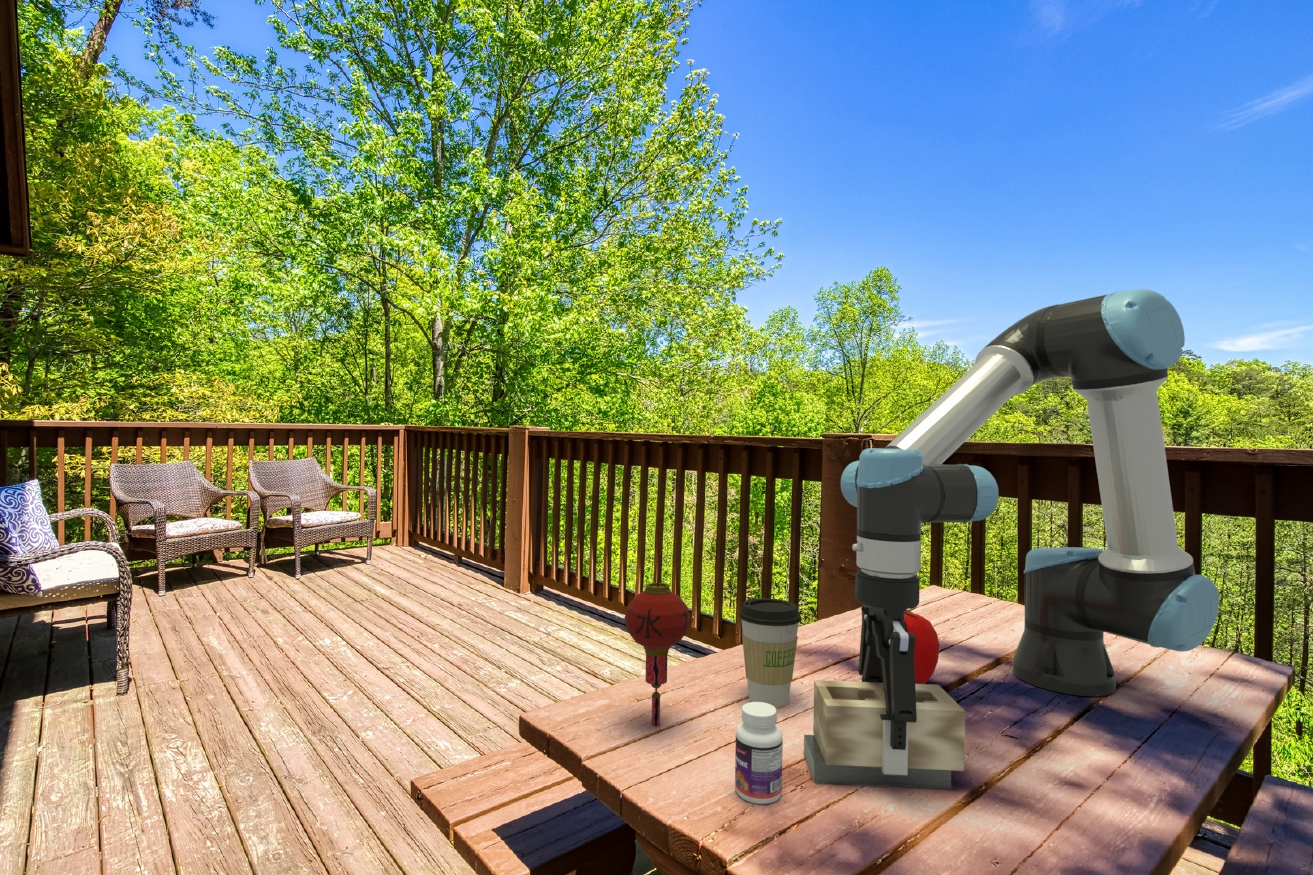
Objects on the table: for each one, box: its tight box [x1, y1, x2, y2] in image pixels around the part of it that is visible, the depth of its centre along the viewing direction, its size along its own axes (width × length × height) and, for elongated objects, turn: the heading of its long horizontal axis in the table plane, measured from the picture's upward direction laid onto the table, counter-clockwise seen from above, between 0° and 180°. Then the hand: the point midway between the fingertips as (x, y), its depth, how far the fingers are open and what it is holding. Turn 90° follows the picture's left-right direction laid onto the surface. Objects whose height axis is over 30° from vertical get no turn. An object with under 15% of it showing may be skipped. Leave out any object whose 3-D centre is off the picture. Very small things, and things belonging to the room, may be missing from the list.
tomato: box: [889, 606, 940, 684], centre depth 106 cm, size 12×12×13 cm
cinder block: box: [812, 679, 966, 772], centre depth 78 cm, size 16×8×7 cm, turn 87°
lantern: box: [624, 514, 691, 727], centre depth 90 cm, size 10×10×30 cm
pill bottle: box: [734, 701, 784, 805], centre depth 73 cm, size 5×5×10 cm
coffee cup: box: [738, 597, 802, 709], centre depth 99 cm, size 10×10×15 cm
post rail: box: [803, 734, 952, 790], centre depth 78 cm, size 16×7×6 cm, turn 87°
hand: (883, 754), depth 78 cm, fingers closed on cinder block, 8 cm apart
